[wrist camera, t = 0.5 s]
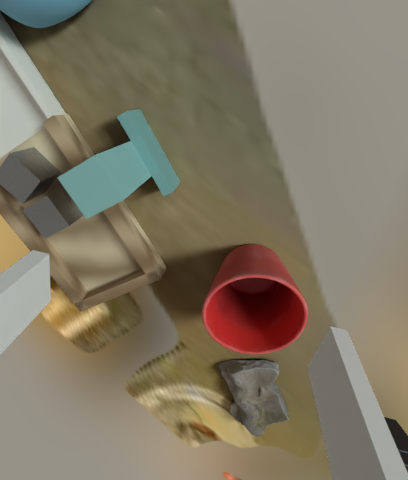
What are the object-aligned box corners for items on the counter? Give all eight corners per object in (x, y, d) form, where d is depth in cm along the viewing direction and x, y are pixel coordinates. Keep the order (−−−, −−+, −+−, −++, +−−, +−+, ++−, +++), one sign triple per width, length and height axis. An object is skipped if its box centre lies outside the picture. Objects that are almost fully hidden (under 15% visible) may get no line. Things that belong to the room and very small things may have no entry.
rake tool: (139, 109, 32) (87, 116, 22) (180, 182, 35) (151, 219, 25) (103, 132, 34) (37, 149, 23) (144, 200, 37) (103, 243, 26)
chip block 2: (43, 199, 37) (22, 210, 34) (66, 185, 36) (47, 195, 33) (63, 225, 39) (44, 238, 35) (86, 213, 38) (69, 225, 34)
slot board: (-13, 169, 38) (-33, 174, 35) (68, 113, 33) (52, 115, 31) (90, 298, 45) (80, 311, 42) (166, 267, 41) (161, 279, 38)
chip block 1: (17, 169, 36) (-8, 177, 33) (34, 147, 35) (9, 153, 31) (44, 193, 37) (22, 204, 34) (61, 172, 36) (40, 181, 32)
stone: (215, 356, 48) (212, 378, 44) (275, 350, 45) (278, 372, 42) (234, 415, 53) (233, 439, 50) (288, 413, 51) (292, 437, 48)
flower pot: (297, 298, 40) (311, 353, 32) (218, 304, 42) (211, 357, 34) (291, 228, 36) (306, 269, 27) (204, 238, 38) (192, 280, 29)
